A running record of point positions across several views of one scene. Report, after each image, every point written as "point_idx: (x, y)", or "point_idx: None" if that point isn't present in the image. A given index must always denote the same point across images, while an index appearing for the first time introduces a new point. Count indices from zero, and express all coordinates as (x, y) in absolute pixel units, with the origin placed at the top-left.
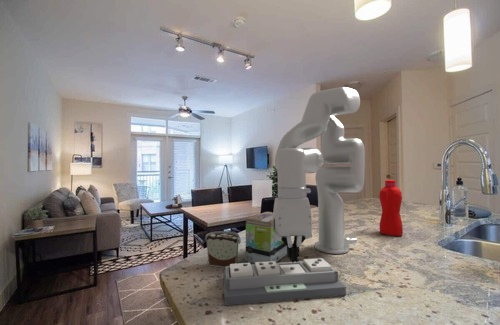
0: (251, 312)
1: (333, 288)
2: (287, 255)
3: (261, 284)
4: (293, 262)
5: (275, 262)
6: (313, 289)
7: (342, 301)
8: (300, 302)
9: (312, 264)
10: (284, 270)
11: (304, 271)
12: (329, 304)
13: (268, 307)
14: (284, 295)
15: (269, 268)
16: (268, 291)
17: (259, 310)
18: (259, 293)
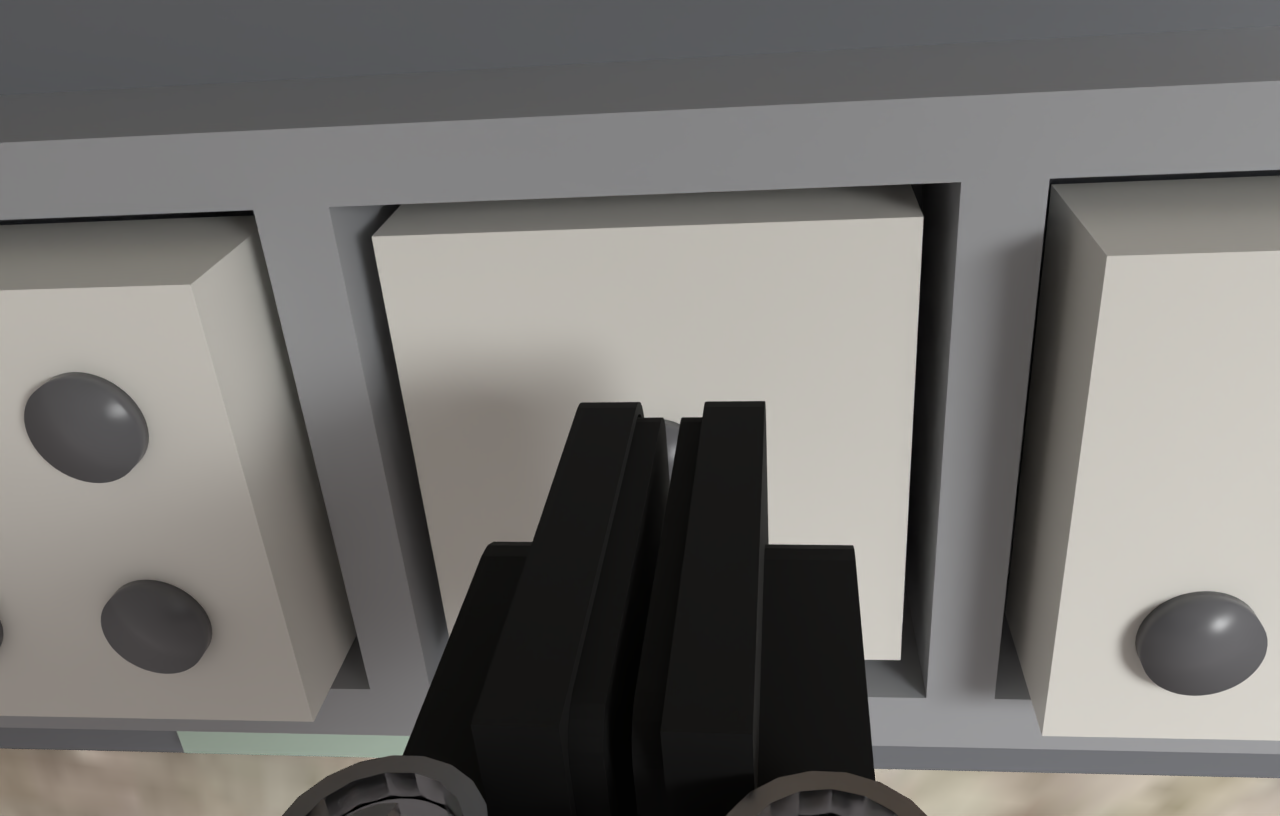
0: (93, 797)
1: (1238, 770)
2: (492, 563)
3: None
4: (781, 161)
5: (212, 370)
6: (895, 764)
7: (1233, 787)
8: None
9: (1159, 647)
10: (459, 514)
11: (891, 609)
12: (1019, 810)
13: (269, 756)
14: None
15: (90, 642)
16: (212, 748)
17: (173, 784)
18: (98, 739)
